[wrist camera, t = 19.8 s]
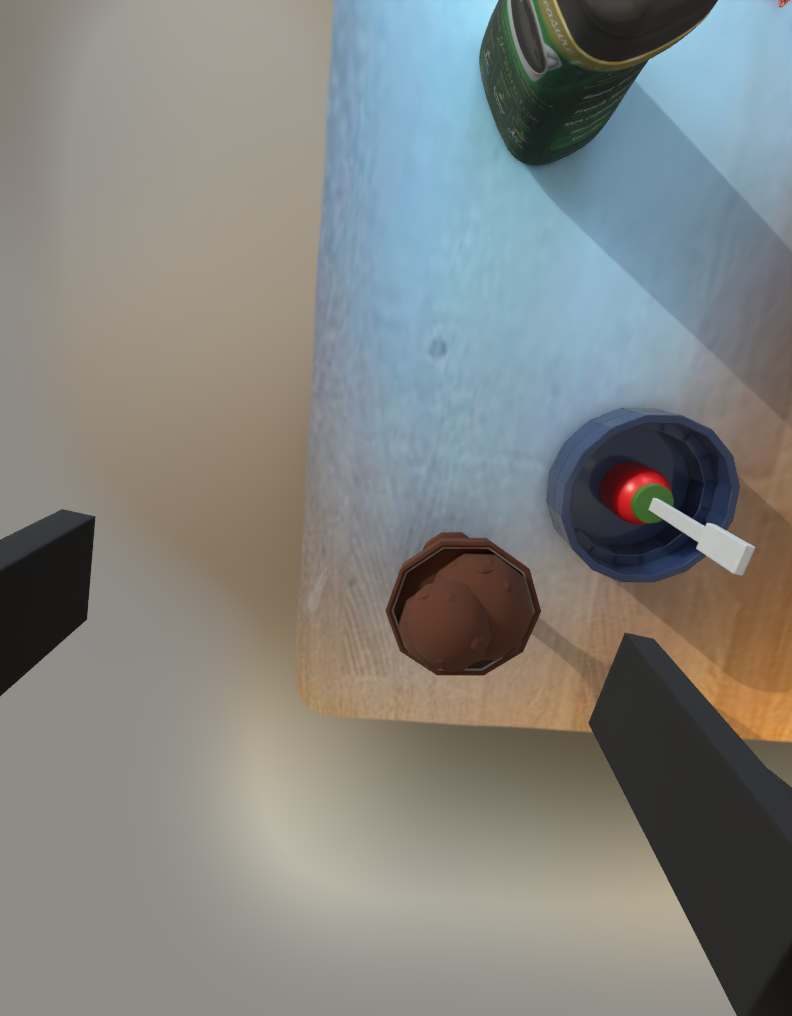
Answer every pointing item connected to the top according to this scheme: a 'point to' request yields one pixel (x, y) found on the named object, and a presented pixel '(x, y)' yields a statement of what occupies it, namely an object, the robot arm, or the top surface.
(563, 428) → the top surface
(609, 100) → the coffee jar
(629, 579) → the dessert bowl
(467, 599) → the ice cream bowl
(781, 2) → the figurine
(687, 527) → the red candy apple
